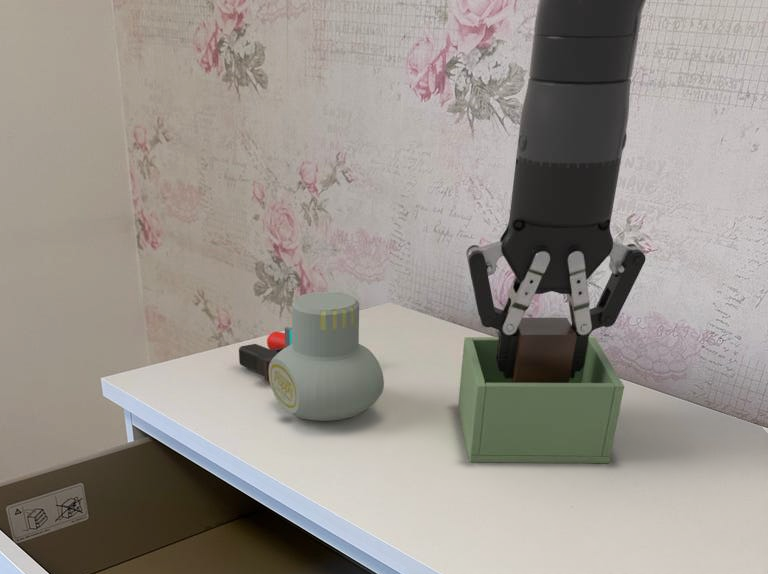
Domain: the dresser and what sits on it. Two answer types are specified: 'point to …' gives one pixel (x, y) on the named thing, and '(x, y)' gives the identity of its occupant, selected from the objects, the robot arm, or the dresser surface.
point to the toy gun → (264, 352)
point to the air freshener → (325, 361)
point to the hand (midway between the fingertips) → (537, 374)
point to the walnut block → (544, 351)
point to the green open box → (537, 410)
